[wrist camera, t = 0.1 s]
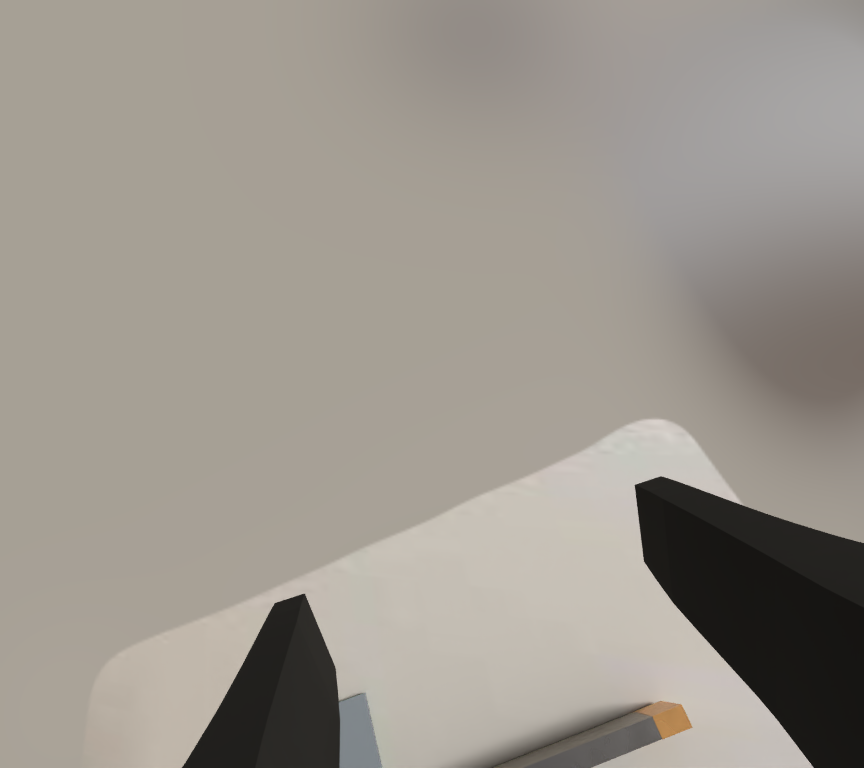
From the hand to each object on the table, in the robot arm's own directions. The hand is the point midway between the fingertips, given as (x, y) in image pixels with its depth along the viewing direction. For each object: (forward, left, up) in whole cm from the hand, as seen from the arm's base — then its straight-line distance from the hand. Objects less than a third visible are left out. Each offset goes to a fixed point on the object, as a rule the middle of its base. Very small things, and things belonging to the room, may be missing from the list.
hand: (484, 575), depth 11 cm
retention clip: (-8, -2, -32) cm, 33 cm away
